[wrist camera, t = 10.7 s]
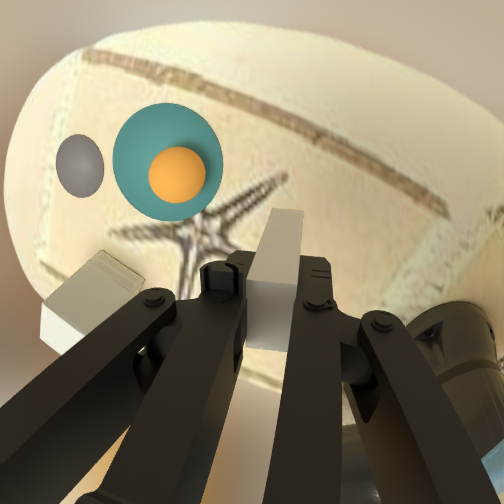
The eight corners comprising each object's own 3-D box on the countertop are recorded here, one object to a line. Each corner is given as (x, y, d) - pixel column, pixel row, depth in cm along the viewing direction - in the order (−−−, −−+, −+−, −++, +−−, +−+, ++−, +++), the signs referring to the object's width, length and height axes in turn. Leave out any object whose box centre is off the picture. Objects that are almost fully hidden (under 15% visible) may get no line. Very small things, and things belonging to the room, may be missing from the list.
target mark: (222, 100, 28) (222, 100, 28) (223, 224, 34) (223, 225, 34) (110, 109, 30) (109, 109, 30) (119, 217, 36) (118, 218, 36)
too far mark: (100, 131, 31) (100, 131, 31) (107, 197, 35) (106, 198, 35) (54, 138, 33) (53, 138, 32) (61, 197, 36) (60, 197, 36)
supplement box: (101, 247, 38) (40, 300, 27) (146, 279, 39) (95, 342, 28) (89, 285, 42) (37, 338, 31) (130, 313, 43) (85, 374, 32)
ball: (160, 148, 31) (208, 139, 30) (170, 197, 34) (217, 191, 32) (132, 157, 27) (186, 145, 25) (145, 213, 29) (197, 207, 27)
